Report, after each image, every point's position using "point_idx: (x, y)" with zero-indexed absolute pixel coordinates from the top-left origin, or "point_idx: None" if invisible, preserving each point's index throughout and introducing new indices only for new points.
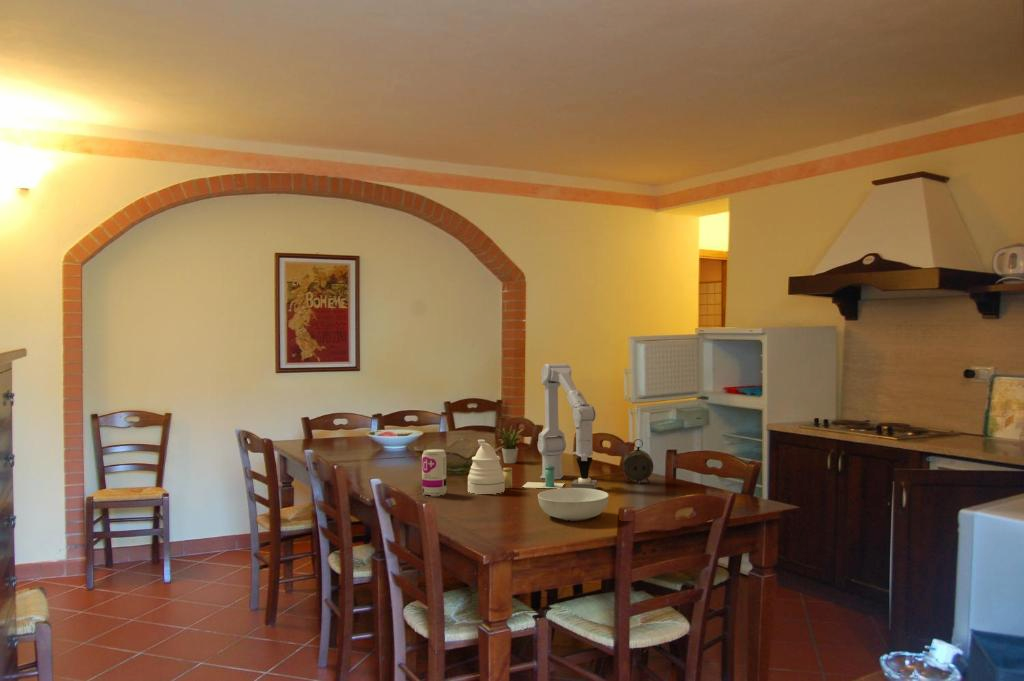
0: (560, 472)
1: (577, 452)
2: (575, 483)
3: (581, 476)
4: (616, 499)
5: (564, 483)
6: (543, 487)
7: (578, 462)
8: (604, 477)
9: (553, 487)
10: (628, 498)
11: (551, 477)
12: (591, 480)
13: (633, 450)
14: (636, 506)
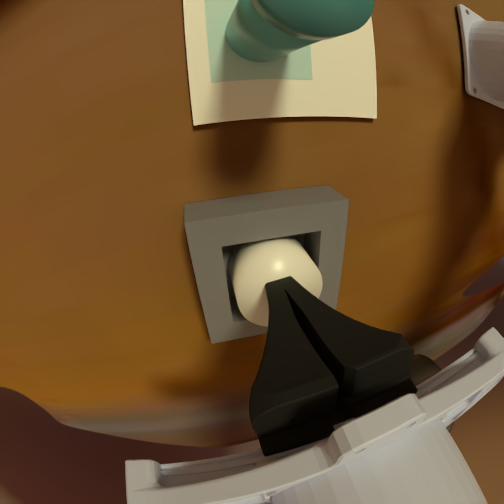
0: (501, 99)
1: (316, 483)
2: (197, 246)
3: (267, 293)
4: (102, 395)
5: (373, 116)
6: (200, 4)
7: (255, 388)
8: (477, 255)
9: (215, 66)
10: (138, 412)
11: (243, 33)
12: (326, 297)
13: (449, 430)
14: (65, 423)
